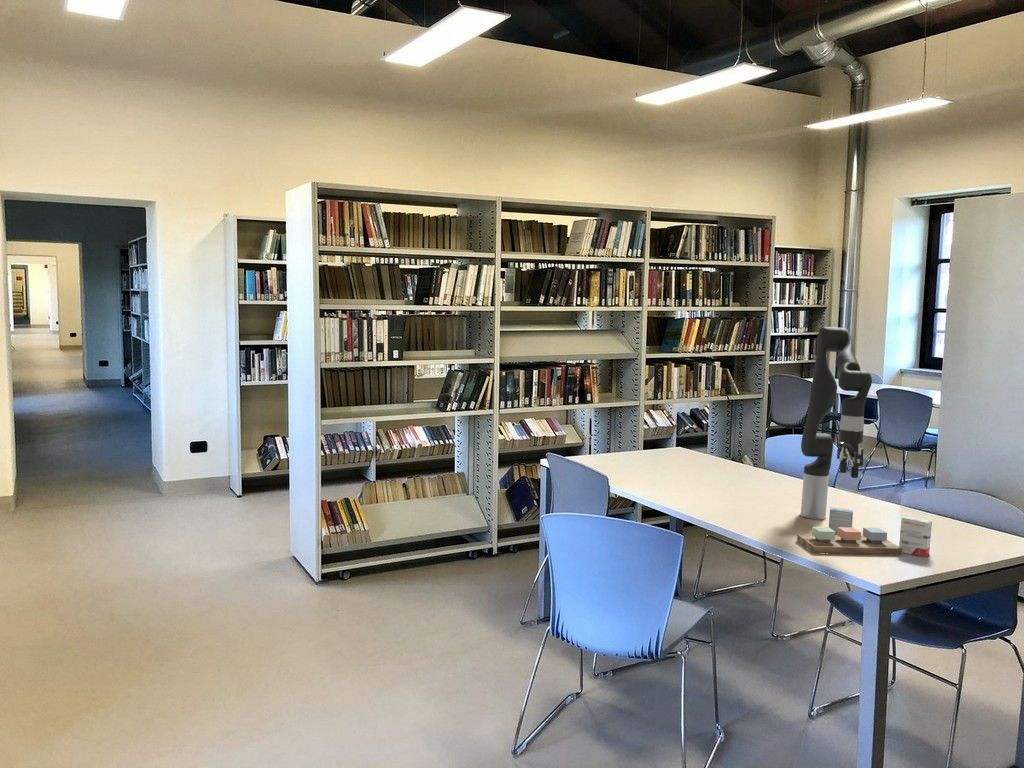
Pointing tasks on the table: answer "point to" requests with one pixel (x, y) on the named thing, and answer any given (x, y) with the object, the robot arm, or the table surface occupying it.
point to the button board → (849, 546)
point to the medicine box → (840, 518)
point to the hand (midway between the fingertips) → (848, 475)
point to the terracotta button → (849, 533)
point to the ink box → (915, 536)
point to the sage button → (823, 533)
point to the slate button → (875, 534)
